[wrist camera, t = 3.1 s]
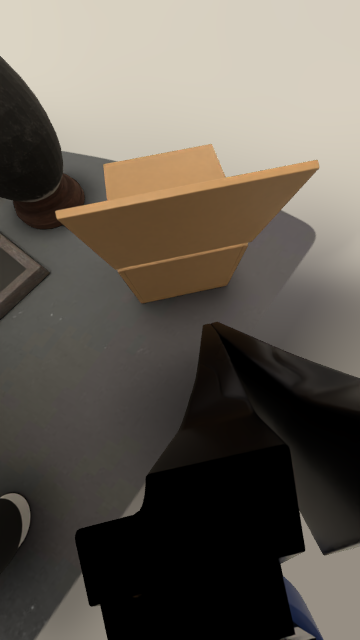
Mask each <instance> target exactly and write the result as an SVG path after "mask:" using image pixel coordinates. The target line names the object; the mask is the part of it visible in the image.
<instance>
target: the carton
mask: <svg viewBox="0 0 360 640" xmlns="http://www.w3.org/2000/svg"><path fill="white" fill-rule="evenodd" d="M103 166H104V175H105V184H106V193H107V201H108V200H114V199H119V198H124V197H129V196H134V195H139V194H144V193H149V192H155V191H160V190H165V189H170V188H175V187H180V186H185V185H190V184H196V183H201V182H206V181H211V180H216V179H221V178H226V177H225V174H224V172H223V170H222V167H221V165H220V163H219V160H218V158H217V156H216V153H215V151H214V148H213V146H212V144H209V145H203V146H198V147H194V148H188V149H182V150H177V151H172V152H167V153H161V154H156V155H151V156H146V157H140V158H135V159H130V160H125V161H119V162H114V163H109V164H104V165H103ZM247 247H248V243H243V244H238V245H233V246H229V247H224V248H219V249H214V250H209V251H204V252H199V253H194V254H190V255H185V256H180V257H175V258H170V259H165V260H160V261H156V262H151V263H146V264H141V265H136V266H131V267H126V268H121V269H118V273H119V274H120V275H121V277H122V278H123V280H124V281H125V282H126V284H127V285H128V286H129V288H130V289H131V290H132V292H133V293H134V294H135V296H136V297H137V298H138V300H139V301H140V302H141V303H146V302H151V301H156V300H160V299H165V298H170V297H175V296H179V295H184V294H189V293H194V292H198V291H203V290H208V289H213V288H217V287H222V286H227V285H228V283H229V281H230V279H231V277H232V275H233V273H234V271H235V269H236V268H237V266H238V264H239V262H240V260H241V258H242V256H243V254H244V252H245V251H246V249H247Z"/></svg>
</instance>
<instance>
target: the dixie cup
mask: <svg viewBox="0 0 360 640" xmlns="http://www.w3.org/2000/svg"><path fill="white" fill-rule="evenodd" d="M29 525H30V509H29V505H28V503H27V501H26V500H25V499H24V497H22V496H21V495H19V494H16V493H10V494H6V495H4V496H2V497H0V574H1V573H2V572H3V570H4V569H5V568H6V567H7V565H8V564H9V563H10V561H11V560H12V558H13V557H14V555H15V553H16V551H17V549H18V547H19V546H20V545H21V544H22V542H23V540H24V539H25V537H26V535H27V532H28V529H29Z"/></svg>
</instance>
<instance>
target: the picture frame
mask: <svg viewBox="0 0 360 640" xmlns="http://www.w3.org/2000/svg"><path fill="white" fill-rule="evenodd" d="M49 273H50V272H48V271H47V270H46V269H45V268H44V267H42V266H41V265H40V264H39V263H37V262H36V261H35V260H34V259H32V258H31V257H30V256H29V255H27V254H26V253H25V252H24V251H22V250H21V249H20V248H19V247H17V246H16V245H15V244H14V243H12V242H11V241H10V240H9V239H8V238H6V237H5V236H4V235H3V234H1V233H0V319H1V318H2V317H3V316H4V315H5V314H7V313H8V312H9V311H10V310H11V309H12V308H13V307H14V306H15V305H16V304H17V303H18V302H19V301H21V300H22V299H23V298H24V297H25V296H26V295H27V294H28V293H29V292H30V291H31V290H32V289H33V288H34V287H36V286H37V285H38V284H39V283H40V282H41V281H42V280H43V279H44V278H45V277H46V276H47V275H48V274H49Z"/></svg>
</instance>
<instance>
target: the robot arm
mask: <svg viewBox="0 0 360 640" xmlns="http://www.w3.org/2000/svg"><path fill="white" fill-rule="evenodd" d="M299 510H300V512H301V514H302V516H303V518H304V520H305V522H306V524H307V526H308V527H309V529H310V531H311V533H312V535H313V537H314V539H315V540H316V542H317V544H318V546H319V548H320V550H321V552H322V553H323V555H329V554H332V553H336V552H340V551H344V550H348V549H352V548H356V547H359V546H360V378H357V377H354V376H351V375H349V374H346V373H343V372H340V371H337V370H334V369H332V368H329V367H326V366H323V365H321V364H318V363H315V362H312V361H309V360H307V359H304V358H301V357H299V356H296V355H294V354H291V353H289V352H286V351H284V350H281V349H279V348H277V347H274V346H272V345H270V344H267V343H265V342H263V341H261V340H258V339H256V338H254V337H251V336H249V335H247V334H245V333H242V332H240V331H238V330H235V329H233V328H231V327H228V326H226V325H224V324H221V323H219V322H215V323H211V324H205V325H203V329H202V337H201V345H200V353H199V360H198V367H197V373H196V379H195V382H194V386H193V390H192V393H191V396H190V399H189V402H188V406H187V409H186V412H185V415H184V418H183V421H182V423H181V426H180V428H179V430H178V432H177V434H176V435H175V437H174V438H173V439H172V441H171V442H170V444H169V445H168V446H167V448H166V449H165V451H164V452H163V453H162V455H161V456H160V458H159V459H158V461H157V462H156V463H155V465H154V466H153V468H152V469H151V470H150V472H149V473H148V475H147V476H146V486H145V496H144V500H143V504H142V507H141V509H140V511H138V512H137V513H135V514H134V515H131V516H127V517H123V518H120V519H116V520H112V521H108V522H104V523H100V524H96V525H92V526H89V527H85V528H81V529H79V530H77V532H76V535H75V541H76V546H77V551H78V555H79V560H80V565H81V569H82V574H83V578H84V583H85V588H86V592H87V596H88V601H89V605H90V606H99V605H100V606H101V611H102V615H103V620H104V624H105V629H106V634H107V638H108V640H316V638H315V637H314V636H312V635H310V634H309V633H307V632H305V631H304V630H303V629H302V628H301V627H300V626H298V625H297V624H296V623H295V622H294V621H293V620H292V616H291V611H290V607H289V602H288V597H287V593H286V588H285V583H284V579H283V574H282V569H281V565H280V564H281V563H283V562H285V561H287V560H289V559H291V558H293V557H295V556H297V555H299V554H301V553H302V552H304V551H305V545H304V539H303V533H302V526H301V520H300V513H299Z"/></svg>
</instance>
